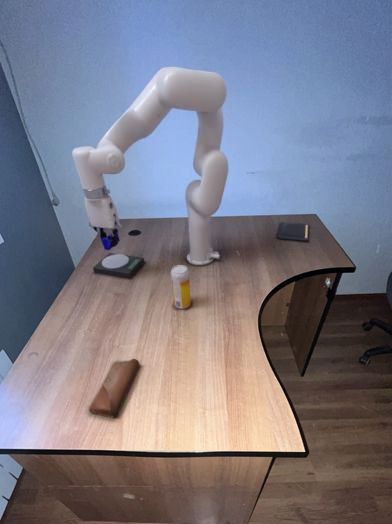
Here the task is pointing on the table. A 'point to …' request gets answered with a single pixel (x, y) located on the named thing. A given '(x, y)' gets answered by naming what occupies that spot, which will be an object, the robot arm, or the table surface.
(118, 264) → the scale
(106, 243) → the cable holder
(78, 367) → the table surface
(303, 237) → the black flat rectangular slab
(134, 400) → the table surface
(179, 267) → the pill bottle
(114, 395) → the sunglasses case
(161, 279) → the table surface
